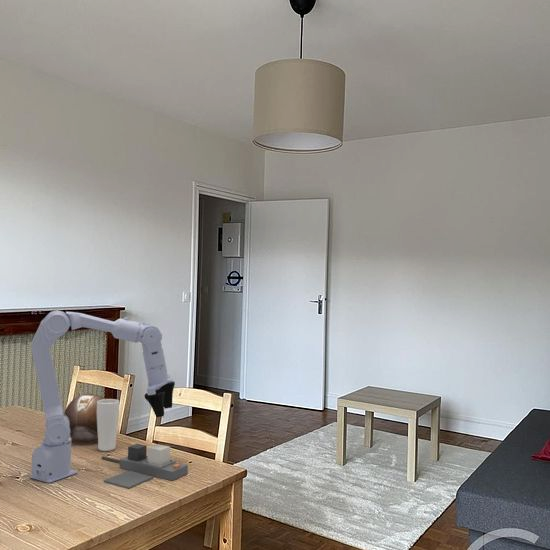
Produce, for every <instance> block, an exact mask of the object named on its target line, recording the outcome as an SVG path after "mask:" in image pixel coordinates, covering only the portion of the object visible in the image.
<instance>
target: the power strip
mask: <svg viewBox="0 0 550 550" xmlns="http://www.w3.org/2000/svg"><path fill="white" fill-rule="evenodd" d="M147 451H148V447H147V445H145V444H141V443H135V444H131V445H130V446H128V447H127V456H125V457H122V458H120V459H118V458H114V457H109V456H104V455H102V456H101V459H102V460H105V461H108V462H113V463H116V464H118V465H119V466H118V467H119V469H122V470H126V471H132V472H136V473H140V474H144V475H148V476H152V477H153V478H154V477H155V478H158V479H163V480H168V481H172V482H173V481H175V480H177V479H180V478H182V477H184V476H185V475H188V471H189V468H188V467H189V466H188V464H184V463H181V462H176V460H175V459H174V460H173V459H170V463H167V464H165V465H162V466H157V465H153V464H149V463H148V455H147Z"/></svg>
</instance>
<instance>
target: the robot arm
mask: <svg viewBox="0 0 550 550" xmlns="http://www.w3.org/2000/svg"><path fill="white" fill-rule="evenodd" d="M70 327H71V331H73V330H77V329H80V328H86V329H92V330H95V331H96V330H98V331H103V332H107V333H108V332H109V333H111V334H112V336H113V338H114V339H118V340H122V341H127V342H131V343H135V344H137V343H141V347H142V357H143V363H144V366H145V373H146V376H147V388H146V393H144V395H143V396H144V398H145V400H146V401H147V402H148V403H149V406H151V409H152V412H153V413H154V415H155V417H156V418H162V417H164V416H165V409H172V408H173V394H174V388H175V385H176V384H175V381H174V380H173V378H171V376H170V374H169V373H168V369H167V364H166V359H165V353H164V349H163V348H162V339H163V334H162V332H161V330H160V329H159V328H158V327H157V326H155V325H152V324H150V323H146V322H145V321H141V322H138V321H133V320H130V318H129V317H123V318H118V319H116V320H115V321H113V320H109V319H105V318H101V317H97V316H93V315H90V314H86V313H82V312H76V311H75V312H74V311H65V312H64V311H62V310H58V309H57V310H52V311H50V312H49V313H48V314H46V316H45V317H44V318H43V319H42V320H41V321H40V324H39V326H38V328H37V330H36V332H35V334H34V337H33V338H32V340H31V343H30V349H31V355H32V359H33V364H34V368H35V373H36V377H37V378H36V379H37V381H38V387H39V392H40V396H41V401H42V406H43V411H44V418H45V428H44V429H45V430H44V437H45V438H43V439H42V443H41V444H40V446H39V445H38V446H37V447H36V448H34V449H33V452H32V455H31V474H30V475H29V478H30V479H32V480H33V479H34V480H37V481H41V482H45V483H48V484H50V483H54V482H56V481H58V480H63V479H65V478H68V477H70V476H72V475H75V474H78V470H75V469H71V465H72V464H71V463H72V462H71V461H72V437H70V436H71V435H70V427H69V425H70V422H69V419H68V417H67V416H66V415H65V414H64V413H65V411H64V408H63V403H62V400H61V396H60V395H61V394H60V390H59V385H58V381H57V374H56V372H55V366H54V362H53V356H52V352H51V348H52V347H53V345H54V344H55V343H56V341H57V340H58V339H60V338H61V337H62V336H63V335H65V334H66V333H67V331H68V330H69V328H70Z"/></svg>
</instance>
